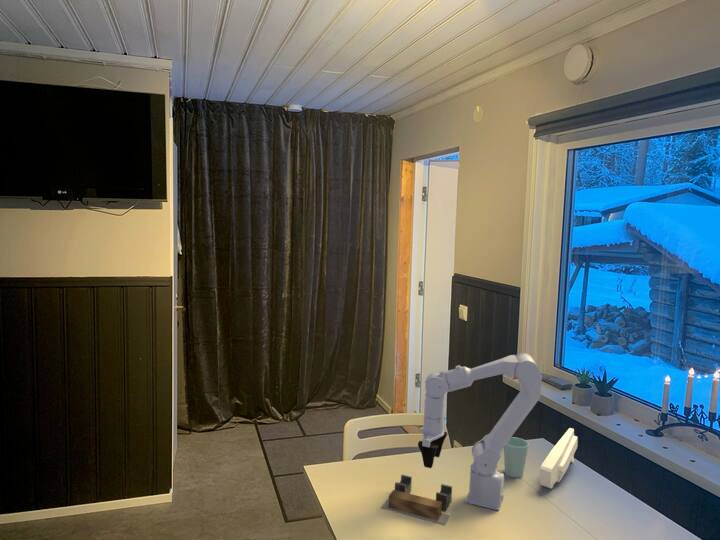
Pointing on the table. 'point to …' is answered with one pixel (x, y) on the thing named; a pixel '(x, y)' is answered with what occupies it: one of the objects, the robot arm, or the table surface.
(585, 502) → the table surface
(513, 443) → the cup
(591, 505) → the table surface
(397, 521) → the table surface
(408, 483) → the post
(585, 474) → the table surface
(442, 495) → the post
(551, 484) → the shelf bracket
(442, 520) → the mat
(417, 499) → the rail
